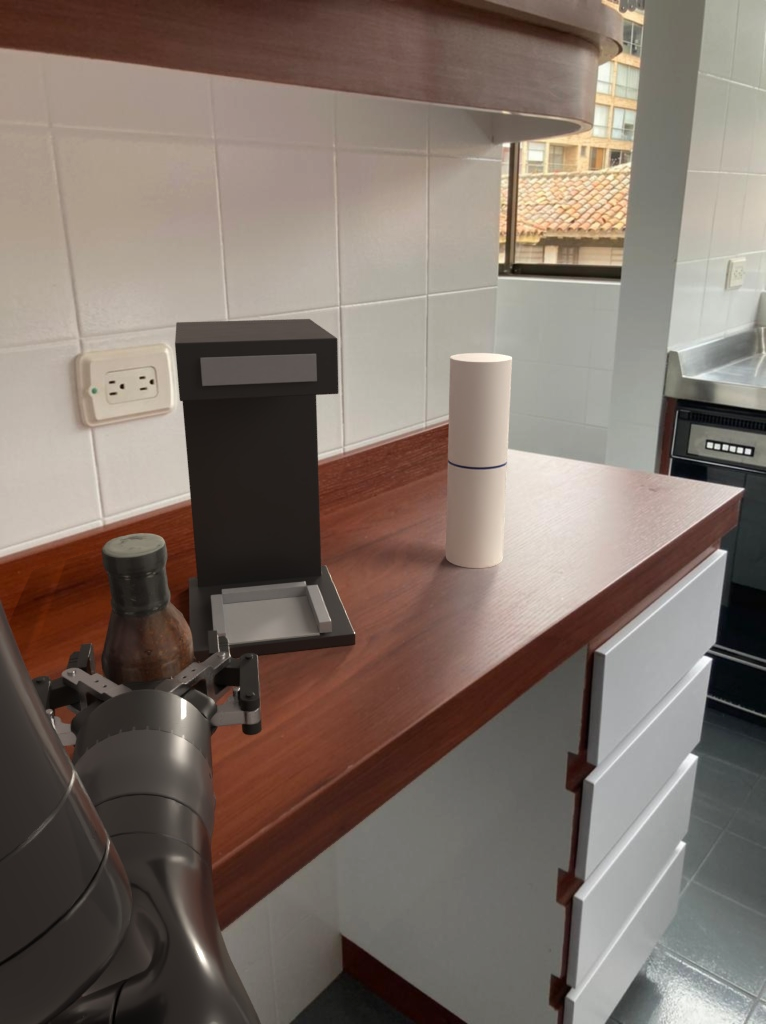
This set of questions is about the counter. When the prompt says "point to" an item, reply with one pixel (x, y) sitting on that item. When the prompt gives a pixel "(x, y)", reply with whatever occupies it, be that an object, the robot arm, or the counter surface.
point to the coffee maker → (258, 484)
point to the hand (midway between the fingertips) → (151, 648)
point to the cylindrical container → (477, 458)
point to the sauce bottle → (142, 613)
